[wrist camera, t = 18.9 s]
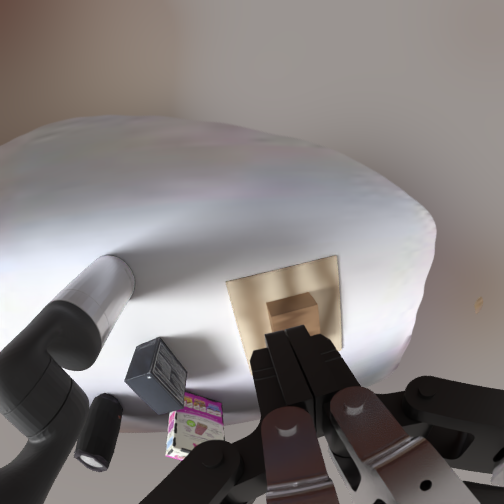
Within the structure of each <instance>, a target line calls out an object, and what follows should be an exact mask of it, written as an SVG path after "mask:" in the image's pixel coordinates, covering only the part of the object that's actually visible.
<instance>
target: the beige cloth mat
mask: <svg viewBox="0 0 504 504" xmlns="http://www.w3.org/2000/svg"><path fill="white" fill-rule="evenodd" d="M226 285H227V289H228V293H229V297H230V301H231V304H232V308H233V312H234V315H235V319H236V323H237V326H238V330H239V334H240V337H241V341H242V344H243V348H244V351H245V355H246V358H247V362H248V365H249V369H250V372H251V375H252V370H251V365H250V358H251V356H252V353H253V350H258V349H262V348H266V342H265V337H264V334H267V333H272V330H271V325H270V320H269V315H268V310H267V306H266V302H271V301H275V300H279V299H283V298H287V297H290V296H294V295H298V294H302V293H306V292H309V293H310V294H311V296H312V297H313V298H314V300H315V301H316V302H317V304H318V310H319V322H320V334H322V335H324V336H325V337H327V338H329V339H330V340H331V341H332V343H333V344H334V346H335V347H336V350H338V351H340V350H342V345H341V312H340V292H339V277H338V265H337V256H336V255H335V256H331V257H327V258H323V259H319V260H315V261H311V262H307V263H303V264H299V265H294V266H290V267H286V268H282V269H278V270H274V271H270V272H265V273H261V274H257V275H253V276H248V277H244V278H240V279H236V280H231V281H227V282H226Z"/></svg>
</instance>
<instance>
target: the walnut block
mask: <svg viewBox="0 0 504 504" xmlns="http://www.w3.org/2000/svg"><path fill="white" fill-rule="evenodd" d="M266 306H267V310H268V315H269V320H270V325H271V330H272V332H276V331H280V330H285V329H288V328H292V327H296V326H299V325H304V326H305V327H306V329H307V331H308V332H309V334H310V336H313V335H316V334H320V322H319V310H318V304H317V302H316V301H315V300H314V298H313V297H312V296H311V294H310V293H309V292H306V293H302V294H298V295H294V296H290V297H287V298H283V299H279V300H275V301H271V302H266Z"/></svg>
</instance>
